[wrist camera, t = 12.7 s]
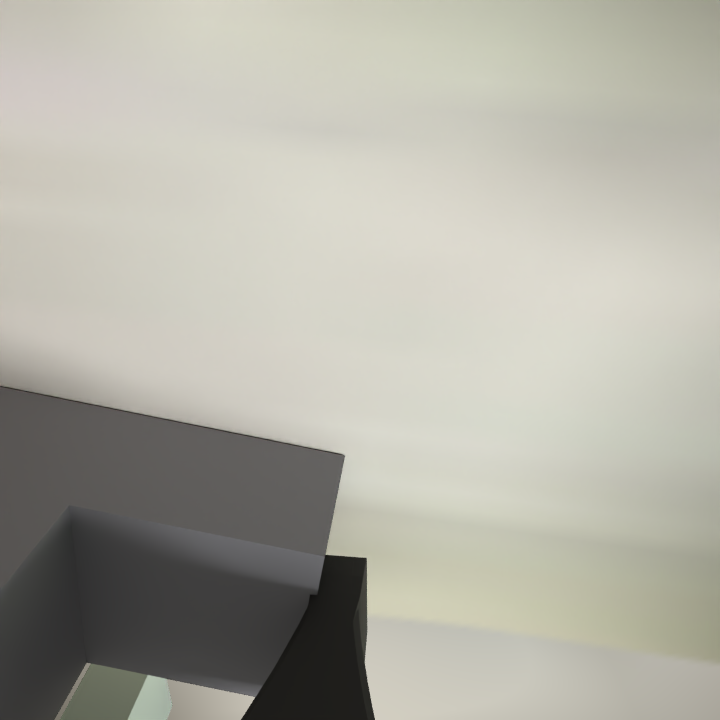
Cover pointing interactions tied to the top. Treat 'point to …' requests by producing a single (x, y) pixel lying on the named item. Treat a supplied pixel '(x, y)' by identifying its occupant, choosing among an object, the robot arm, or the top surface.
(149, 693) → the pale green rectangular bar
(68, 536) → the grey notched block
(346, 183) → the top surface
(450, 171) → the top surface
